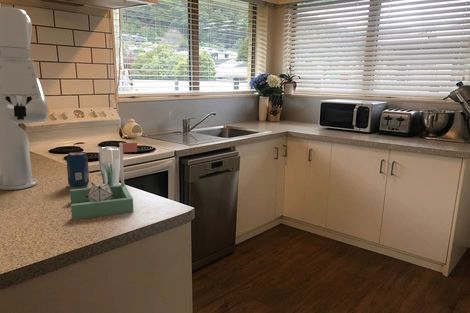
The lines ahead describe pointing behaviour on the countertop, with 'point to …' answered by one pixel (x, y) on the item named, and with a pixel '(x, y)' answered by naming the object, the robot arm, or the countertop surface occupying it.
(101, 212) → the green open box
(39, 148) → the countertop surface
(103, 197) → the game die
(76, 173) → the soda can
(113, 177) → the beer glass
